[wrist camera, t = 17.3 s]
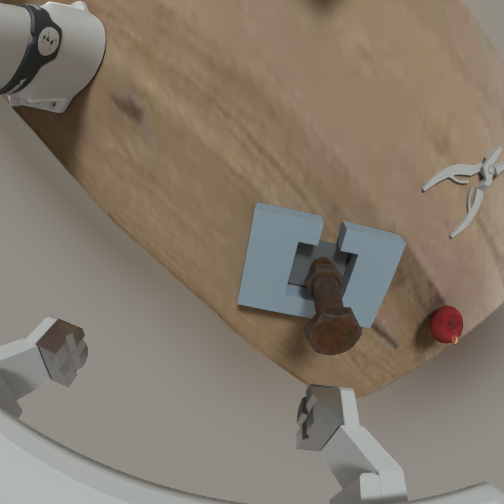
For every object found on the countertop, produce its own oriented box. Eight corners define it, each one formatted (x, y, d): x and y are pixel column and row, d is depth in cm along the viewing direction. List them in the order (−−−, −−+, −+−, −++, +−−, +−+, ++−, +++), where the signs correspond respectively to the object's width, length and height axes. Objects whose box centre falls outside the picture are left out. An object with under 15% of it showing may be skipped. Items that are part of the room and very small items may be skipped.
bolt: (343, 249, 40) (367, 315, 26) (339, 281, 42) (358, 354, 29) (301, 248, 41) (306, 316, 27) (299, 281, 43) (302, 355, 29)
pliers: (424, 188, 34) (491, 126, 29) (420, 186, 35) (485, 125, 30) (455, 241, 36) (516, 181, 31) (450, 237, 38) (510, 179, 32)
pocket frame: (240, 292, 45) (237, 304, 42) (257, 202, 39) (254, 208, 36) (366, 316, 44) (370, 327, 42) (398, 234, 38) (406, 243, 36)
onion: (426, 299, 42) (445, 329, 35) (455, 294, 41) (476, 322, 34) (421, 327, 44) (436, 359, 37) (448, 322, 43) (466, 351, 36)
